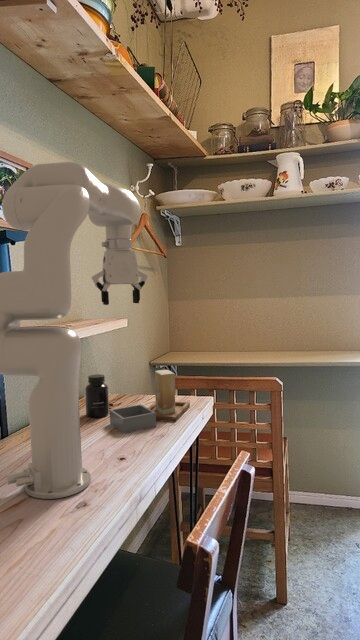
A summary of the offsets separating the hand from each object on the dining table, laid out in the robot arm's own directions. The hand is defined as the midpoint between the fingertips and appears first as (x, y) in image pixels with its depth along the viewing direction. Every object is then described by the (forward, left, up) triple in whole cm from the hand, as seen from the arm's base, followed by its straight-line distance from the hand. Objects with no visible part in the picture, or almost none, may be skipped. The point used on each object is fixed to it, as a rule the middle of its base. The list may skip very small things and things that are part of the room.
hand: (121, 303), depth 133 cm
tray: (+10, -8, -33) cm, 36 cm away
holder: (-3, -13, -33) cm, 36 cm away
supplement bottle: (-8, +2, -34) cm, 35 cm away
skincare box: (+10, -8, -33) cm, 35 cm away
